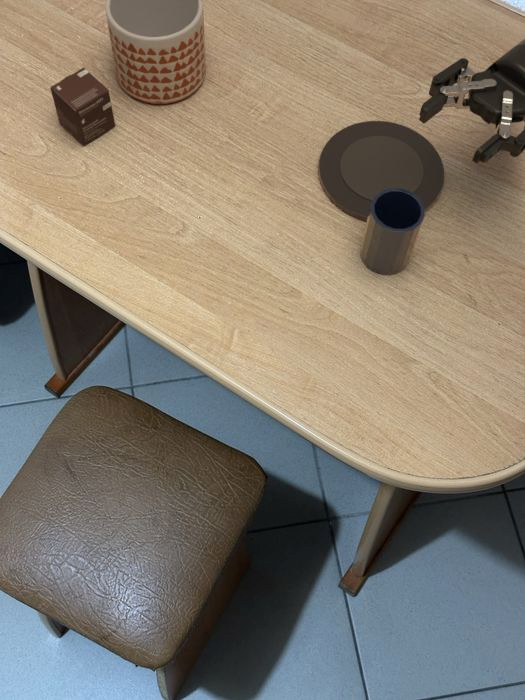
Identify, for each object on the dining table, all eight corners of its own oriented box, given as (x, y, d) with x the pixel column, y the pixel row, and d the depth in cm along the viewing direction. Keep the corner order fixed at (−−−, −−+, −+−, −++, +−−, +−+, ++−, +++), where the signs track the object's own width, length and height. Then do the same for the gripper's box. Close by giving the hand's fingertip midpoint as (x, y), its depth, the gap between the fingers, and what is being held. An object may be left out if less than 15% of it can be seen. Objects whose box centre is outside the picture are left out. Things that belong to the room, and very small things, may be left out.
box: (83, 147, 121) (74, 111, 115) (58, 123, 123) (48, 86, 117) (116, 126, 123) (109, 89, 117) (91, 103, 125) (83, 65, 119)
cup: (408, 234, 116) (422, 189, 107) (411, 275, 113) (426, 232, 104) (359, 232, 116) (370, 187, 107) (361, 274, 113) (371, 230, 104)
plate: (437, 127, 125) (439, 122, 124) (447, 226, 117) (449, 221, 116) (317, 123, 125) (318, 117, 124) (319, 222, 116) (319, 217, 115)
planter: (101, 91, 126) (88, 23, 115) (138, 31, 132) (129, -40, 121) (185, 116, 125) (180, 50, 113) (218, 54, 131) (217, -15, 119)
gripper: (496, 17, 105) (410, 81, 100) (588, 79, 101) (504, 150, 95) (480, 62, 112) (399, 125, 106) (566, 123, 107) (486, 191, 102)
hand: (449, 137), depth 101 cm, fingers open, 8 cm apart
